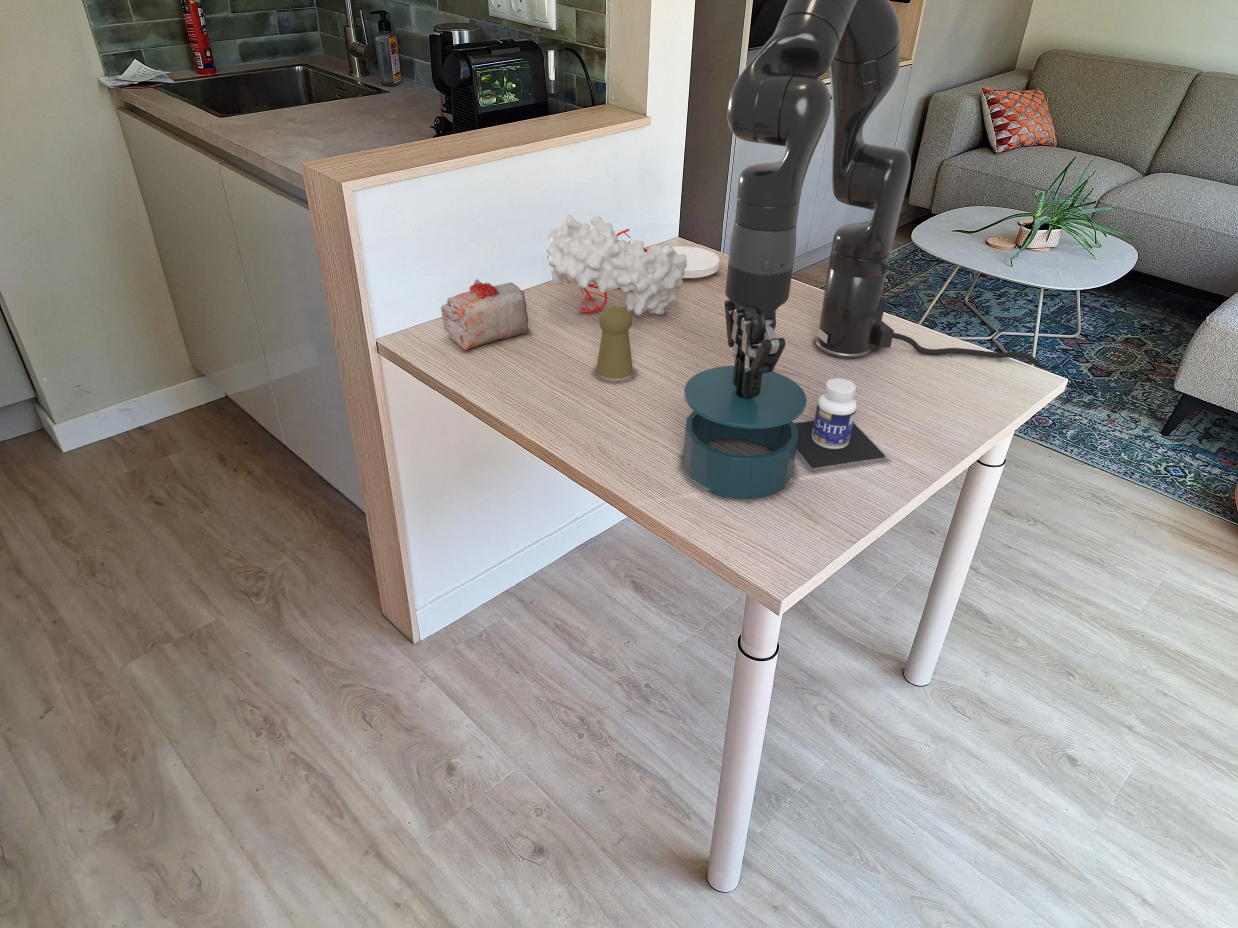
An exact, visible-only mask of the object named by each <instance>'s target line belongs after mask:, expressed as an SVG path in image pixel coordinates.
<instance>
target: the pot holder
mask: <svg viewBox="0 0 1238 928" xmlns="http://www.w3.org/2000/svg"><path fill="white" fill-rule="evenodd" d="M793 423H794V424H795V425H796V426H797V433H798V441H797V447H796V451H798V452H799V454H800V455H801V456H802V458H803V459H804V460H805V461H806V463H808V465H809V466H810V467H811V468H812V469H817V468H823V467H825V468H826V467H830V466H831V467H832V466H838V465H843V464H850V463H851V464H852V463H857V462H864V461H870V460H876V459H884V458H886V455H885V454H884V453H883V452H882V451H881V449H880V448H878V446H877V445H875V443H874V442H873V441H872V440H871V439H870V438H868V436H867V435H866V434H865V433H864V432H863V431H862V430H861V429H860V428H859V427H858V426H857V425H856V424H855V422H854V423H853V427H852V432H851V436H850V441H849V443H848V445H847V446H845V447H844V448H841V449H828V448H824V447H821V446H819V445H817V444H816V443H815V442H814V441H813V439H812V430H813V425H814V420H809V421H802V422H793Z"/></svg>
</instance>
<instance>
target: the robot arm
mask: <svg viewBox="0 0 1238 928" xmlns="http://www.w3.org/2000/svg"><path fill="white" fill-rule="evenodd" d="M900 50H901V25H900V20H899V17H898V15H897V12H896V9H895V7H894V6H893V4H892V2H891V0H786V4H785V5H784V8H783V11H782V13H781V15H780V17H779V20H778V23H777V25H776V27H775V30H774V32H773V34H772V35H771V37H770V38H769V39H768V40H767V41H766V43H765V44H764V45H763V46H762V48H761V49H760V50H759V51H758V52H757V53H756V55H755V56H754V57H753V58H752V59H751V61H750V62H749V63H748V64H747V66H746V67H745V68H744V69H743V70H742V72H741V73H740V75H739V76H738V78H737V79H736V81H735V83H734V84H733V87H732V89H731V91H730V94H729V96H728V101H727V105H726V106H727V107H726V118H727V123H728V126H729V128H730V131H731V132H732V134H733V135H734V136H735V137H736V138H738V139H740V140H742V141H745V142H749V143H756V144H764V145H772V146H780V147H785V153H784V156H783V158H782V159H781V160H779V161H775V162H762V163H756V164H752V165H748V166H746V167H745V168H743V169H742V170H741V172H740V175H739V177H738V181H737V188H736V189H737V190H736V201H735V213H734V220H733V225H732V230H731V235H730V240H729V249H728V259H727V260H728V261H727V269H726V282H725V290H724V291H725V296H726V297H727V300H725V301H724V313H725V324H726V336H727V346H728V347H729V348H732V357H733V358H734V363H733V366H734V374H733V383H734V385H735V386H736V385H737V376H738V367H739V359H740V358H741V357H743V356H745V369H744V376H743V384H742V395H743V396H744V397H745V398H749V397H756V396H758V395H759V394H760V388H761V380H762V373H768V372H772V371H773V372H774V369H775V367H776V365H777V364H778V361H779V360H780V358H781V355H782V353H783V351H784V350H785V347H786V339H785V338H784V337H777V335H776V332H775V330H776V327H777V313H776V312H777V310H778V308H780V307H781V306H782V305H784V304H785V303H787V301H788V300H789V297H790V291H791V284H792V277H793V270H794V269H793V268H794V262H795V255H796V248H797V224H798V216H799V210H800V202H801V196H802V190H803V186H804V181H805V178H806V176H807V173H808V169H809V166H810V164H811V161H812V158H813V155H814V153H815V151H816V149H817V146H818V144H819V142H820V140H821V138H822V135H823V133H824V132H825V128H826V126H827V123H828V120H829V118H830V114H831V108H832V150H831V151H832V154H831V186H832V192H833V194H834V198H835V199H836V200H837V201H838V202H839V203H842V204H845V205H848V206H853V207H855V208H856V207H857V208H862V209H865V210H871V211H873V213H872V216H871V219H868V220H865V221H861V222H853V223H848V224H845V225H842V226H840V227H838V228H837V229H836V230H835V232H834V234H833V238H832V245H831V249H830V256H829V262H828V263H829V264H828V269H827V275H826V281H825V287H824V293H823V298H822V299H823V300H822V305H821V311H820V317H819V322H818V323H819V324H818V327H817V329H816V335H815V336H816V338H815V345H816V347H817V348H818V350H821V351H822V352H823V353H826V354H827V355H830V356H833V357H839V358H847V359H854V358H861V357H865V356H868V354H871V352H875V351H876V350H877V349H887V348H891V347H892V342H893V339H895V340H900V341H903V342H905V343H908V344H909V345H910V346H912V348H914V350H916V351H917V352H918V353H921V354H925V355H933V356H935V355H936V356H937V355H947V354H949V355H950V354H957V355H968V356H976V357H985V358H992V359H994V358H995V359H1010V358H1011V359H1012V358H1020V359H1025V360H1027V361H1028V362H1030V363H1031V364H1032V365H1034V366H1040V363H1039V361H1038V360H1037V358H1036V357H1034V356H1033V355H1032V354H1030V353H1027V352H1025V351H1024V352H1023V351H1004V352H1000V351H999V352H998V351H988V350H981V349H980V350H979V349H970V348H960V347H945V348H926V347H923V346H921V345H920V344H919V343H918V342H917V341H916V340H915V339H914V338H911V337H909V336H908V335H905V334H902V333H896V332H895V330H894V329H893V328H892V327H891V326H889V325H888V324H886V323H885V322H884V321H883V316H884V312H885V306H886V301H887V298H886V296H885V297H884V296H883V292H884V287H885V282H886V276H887V271H888V267H889V261H890V256H891V252H892V247H893V243H894V240H895V236H896V233H897V228H898V224H899V219H900V215H901V211H902V208H903V207H902V206H903V203H904V200H905V195H906V192H907V189H908V184H909V181H910V176H911V170H912V169H911V168H912V160H911V157H910V154H909V152H908V151H906V150H904V149H900V148H896V147H895V148H894V147H888V146H883V145H876V144H870V143H867V142H865V141H864V137H863V129H864V125H865V124H866V122H867V120H868V119H869V117H870V116H871V114H872V113H873V112H874V110H875V109H876V108H877V107H878V105H879V104H880V103H881V102H882V101H883V99H884V98H885V97H886V95H887V94H888V93H889V91H890V90H891V88H892V87H893V85H894V83H895V81H896V79H897V78H898V74H899V70H900V62H901V61H900V60H901V59H900V57H901V51H900ZM827 71H829V81H830V91H831V94H830V91H829V88H828V86H827V85H826V83H825V82H824V81H823V79H821V78H820V77H821V76H823V75H824V74H826V72H827ZM831 106H832V107H831ZM985 351H986V352H985ZM753 357H755V358H754V360H753V362H752V358H753ZM1004 357H1005V358H1004Z"/></svg>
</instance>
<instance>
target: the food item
mask: <svg viewBox="0 0 1238 928" xmlns="http://www.w3.org/2000/svg"><path fill="white" fill-rule="evenodd" d="M446 300H447V301H446V303H445V304H442V305H441V306H440V307H439V308H440V310H441V311H440V312H441V318H442V324H443V325H442V328H443V330H444V331H445V332H446V333H447V334H448V336H449V338H450V339H451V340H452V341H454V342H455V343H456V344H457V345H458V346H459V347H460V348H462V349H463V350H464V351H468V350H470V349H474V348H477V347H480V346H483V345H485V344H489V343H493V342H496V341H500V340H506V339H509V338H512V337H516V336H520V335H523V334H526V333H530V328H529V324H528V323H529V317H528V316H529V315H528V311H527V310H528V309H527V308H528V307H527V301H526V298H525V291H524V290H522V289H521V288H520V287H519V286H518V285H516V284H515V283H514V282H505V283H502V284H501V283H500V284H496V285H492V284H491V283H490V282H485V283H483V282H481V281H480V279H478V278H475V280H474V283H473V284H472V285H471V286H469V290H468V291H465V292H462V293H458V294H456V295H455V296H451V297H448V298H446Z"/></svg>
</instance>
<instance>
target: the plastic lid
mask: <svg viewBox="0 0 1238 928" xmlns="http://www.w3.org/2000/svg"><path fill="white" fill-rule="evenodd" d="M672 247H673V249H674V250H675V251H676V252H677V254H678V255H681V254H685V255H686V260H687V267H686V269H685V270H684V272H685V274H684V276H683V279H699V278H705V277H709V276H710V275H711V276H712V275H714V274H716V273H717V272H718V271H719V269H720V261H721V260H720V259H721V258H720V257H719V256H718V254H716V253H715V252H713V251H711V250H709V249H706V248H705V249H704V248H702V247H696V246H687V245H685V246H684V245H683V246H682V245H680V246H679V245H678V246H672Z"/></svg>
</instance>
